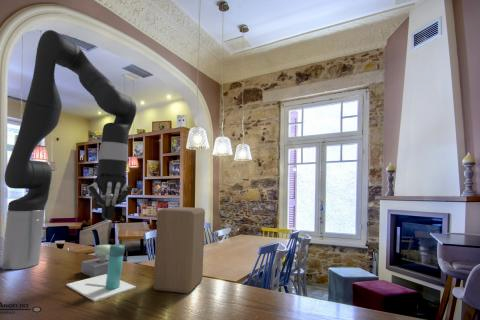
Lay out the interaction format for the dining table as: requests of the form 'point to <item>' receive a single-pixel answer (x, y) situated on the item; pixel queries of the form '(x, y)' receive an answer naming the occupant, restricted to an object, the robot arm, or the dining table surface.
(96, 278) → the pad
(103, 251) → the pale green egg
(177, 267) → the wooden block
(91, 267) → the button housing
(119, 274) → the marker
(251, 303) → the dining table surface
